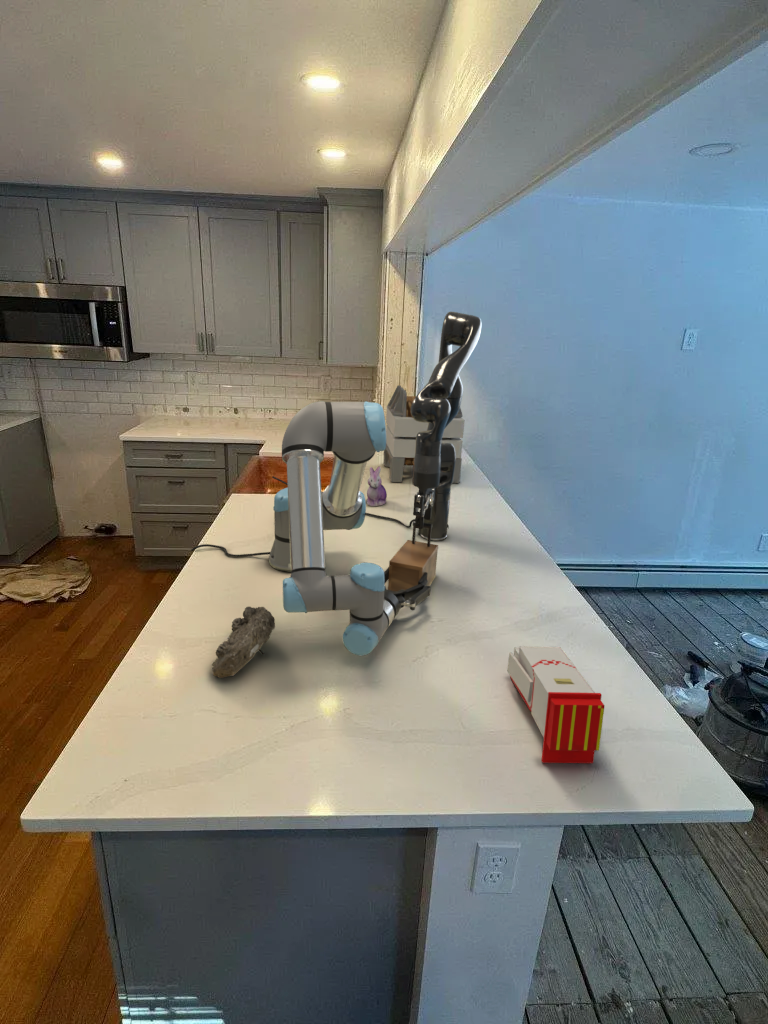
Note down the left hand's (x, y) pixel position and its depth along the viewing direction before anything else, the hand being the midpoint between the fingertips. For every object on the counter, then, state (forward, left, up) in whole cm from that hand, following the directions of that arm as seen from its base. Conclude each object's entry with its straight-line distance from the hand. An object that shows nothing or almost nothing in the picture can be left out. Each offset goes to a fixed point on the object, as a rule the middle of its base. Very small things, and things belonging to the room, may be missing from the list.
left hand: (408, 573), depth 157 cm
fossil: (-25, -42, -6) cm, 49 cm away
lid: (0, +5, +3) cm, 6 cm away
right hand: (0, +12, +11) cm, 16 cm away
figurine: (-35, +68, -6) cm, 77 cm away
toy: (+40, -37, -6) cm, 55 cm away
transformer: (-31, +120, -6) cm, 124 cm away
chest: (0, +5, -6) cm, 8 cm away
